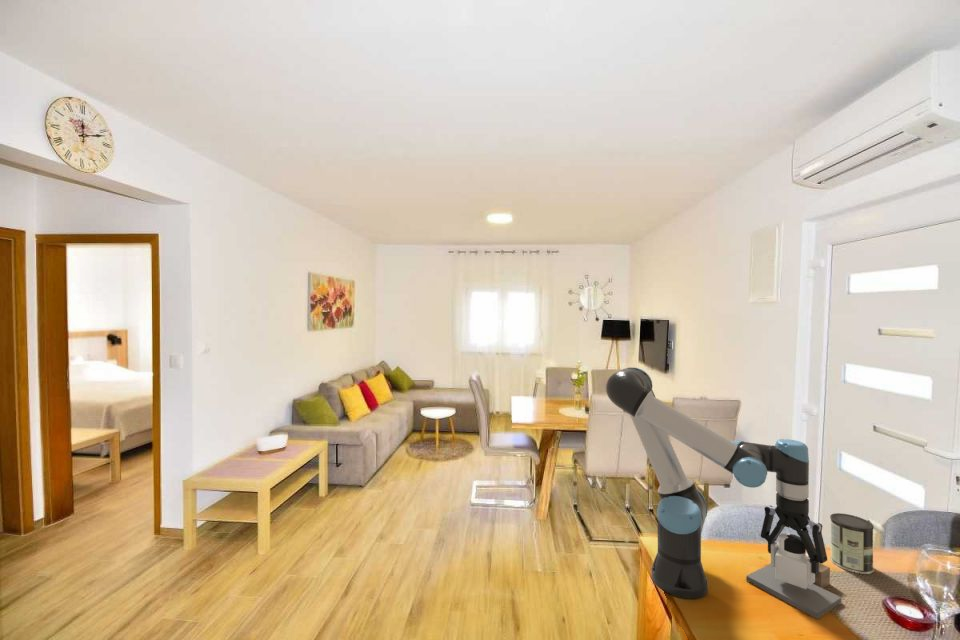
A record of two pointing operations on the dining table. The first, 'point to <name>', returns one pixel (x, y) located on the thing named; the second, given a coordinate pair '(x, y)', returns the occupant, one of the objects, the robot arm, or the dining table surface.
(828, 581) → the walnut block
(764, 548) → the dining table surface
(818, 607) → the charcoal serving board
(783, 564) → the medicine bottle
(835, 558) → the coffee can
